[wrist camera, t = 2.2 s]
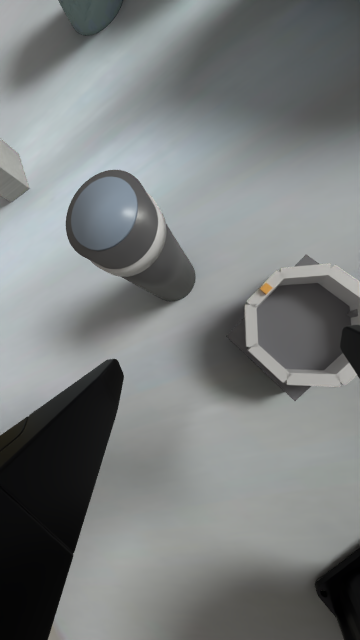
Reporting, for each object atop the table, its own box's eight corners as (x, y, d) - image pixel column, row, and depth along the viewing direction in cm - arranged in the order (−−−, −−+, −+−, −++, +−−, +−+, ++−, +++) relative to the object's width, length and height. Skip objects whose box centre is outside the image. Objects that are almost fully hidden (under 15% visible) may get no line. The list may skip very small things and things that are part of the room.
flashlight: (172, 312, 22) (99, 282, 11) (141, 281, 24) (46, 224, 12) (207, 275, 22) (169, 199, 10) (172, 245, 23) (104, 147, 11)
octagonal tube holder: (291, 396, 18) (311, 418, 13) (223, 332, 21) (218, 329, 15) (371, 323, 17) (426, 316, 12) (290, 263, 19) (308, 236, 14)
